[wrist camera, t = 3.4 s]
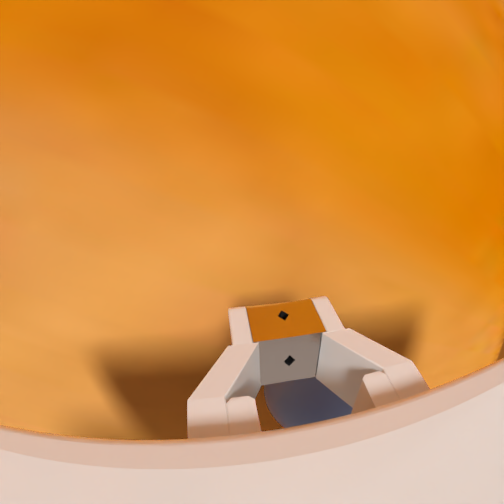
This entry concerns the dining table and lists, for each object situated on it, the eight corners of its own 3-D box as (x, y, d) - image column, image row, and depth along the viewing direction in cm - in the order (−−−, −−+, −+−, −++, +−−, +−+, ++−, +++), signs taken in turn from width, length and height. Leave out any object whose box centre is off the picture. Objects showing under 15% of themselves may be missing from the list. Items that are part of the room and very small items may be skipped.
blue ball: (278, 391, 20) (300, 464, 15) (237, 344, 17) (256, 431, 12) (355, 353, 19) (392, 421, 15) (331, 296, 17) (377, 374, 12)
